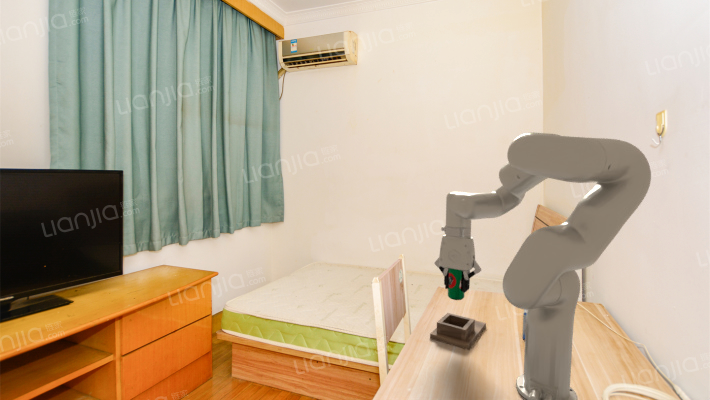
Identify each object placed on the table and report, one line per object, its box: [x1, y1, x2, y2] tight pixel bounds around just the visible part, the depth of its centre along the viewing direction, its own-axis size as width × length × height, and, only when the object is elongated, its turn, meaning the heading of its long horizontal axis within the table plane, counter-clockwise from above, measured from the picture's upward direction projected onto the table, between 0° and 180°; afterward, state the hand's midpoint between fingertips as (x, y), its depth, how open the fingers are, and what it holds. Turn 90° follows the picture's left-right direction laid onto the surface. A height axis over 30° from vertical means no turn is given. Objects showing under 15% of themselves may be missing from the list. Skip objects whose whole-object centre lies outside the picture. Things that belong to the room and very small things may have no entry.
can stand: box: [429, 312, 487, 351], centre depth 111 cm, size 18×12×5 cm, turn 144°
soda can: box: [447, 268, 466, 301], centre depth 107 cm, size 5×5×12 cm
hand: (456, 288), depth 108 cm, fingers closed on soda can, 4 cm apart
